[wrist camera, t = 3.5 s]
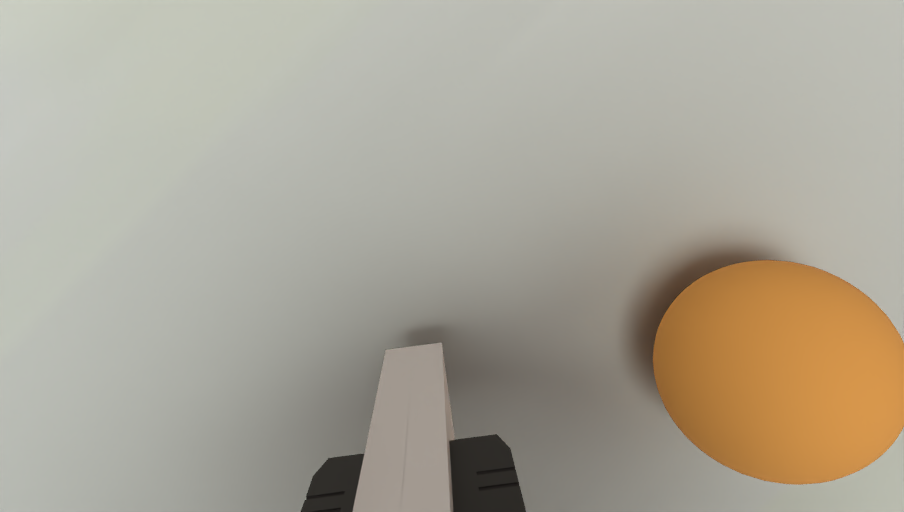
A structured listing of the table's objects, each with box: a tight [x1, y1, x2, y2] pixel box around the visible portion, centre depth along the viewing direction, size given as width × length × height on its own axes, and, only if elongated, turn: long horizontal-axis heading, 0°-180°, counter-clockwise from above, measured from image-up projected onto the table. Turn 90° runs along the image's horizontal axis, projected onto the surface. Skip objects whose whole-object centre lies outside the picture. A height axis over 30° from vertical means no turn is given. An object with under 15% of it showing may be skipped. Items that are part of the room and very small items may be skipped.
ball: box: [653, 260, 904, 484], centre depth 13 cm, size 6×6×6 cm
